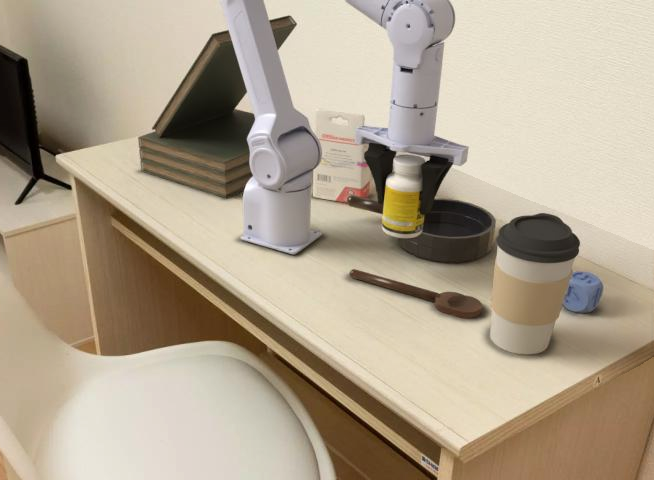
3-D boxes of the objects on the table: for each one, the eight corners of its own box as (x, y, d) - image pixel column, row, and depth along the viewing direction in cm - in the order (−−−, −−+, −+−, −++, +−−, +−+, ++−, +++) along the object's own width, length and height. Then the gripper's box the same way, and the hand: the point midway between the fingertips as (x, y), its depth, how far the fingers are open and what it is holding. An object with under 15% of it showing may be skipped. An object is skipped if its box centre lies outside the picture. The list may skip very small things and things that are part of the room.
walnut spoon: (342, 282, 106) (342, 274, 106) (357, 269, 110) (357, 262, 109) (473, 321, 99) (475, 313, 98) (486, 306, 102) (487, 298, 101)
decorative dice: (585, 316, 100) (592, 289, 98) (556, 305, 102) (562, 278, 100) (599, 305, 103) (606, 278, 101) (571, 294, 105) (577, 267, 103)
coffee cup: (543, 368, 90) (569, 249, 82) (469, 344, 94) (487, 228, 86) (567, 333, 97) (593, 219, 89) (496, 312, 101) (515, 201, 93)
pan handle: (344, 206, 123) (345, 196, 122) (349, 203, 124) (350, 192, 123) (399, 220, 119) (400, 209, 118) (404, 216, 120) (405, 205, 119)
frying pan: (378, 248, 115) (380, 223, 113) (418, 215, 126) (420, 191, 124) (471, 273, 110) (475, 247, 107) (504, 236, 120) (509, 211, 118)
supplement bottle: (420, 241, 102) (428, 168, 97) (379, 237, 103) (384, 164, 98) (424, 224, 107) (432, 154, 101) (384, 220, 108) (389, 150, 102)
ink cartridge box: (370, 195, 132) (376, 107, 124) (360, 206, 128) (366, 115, 120) (322, 187, 135) (325, 100, 127) (311, 197, 131) (313, 108, 123)
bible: (226, 138, 155) (222, 1, 142) (308, 160, 146) (311, 16, 132) (140, 171, 139) (126, 20, 126) (225, 198, 130) (220, 39, 116)
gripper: (345, 99, 96) (340, 204, 103) (458, 120, 90) (444, 230, 97) (371, 86, 101) (365, 187, 108) (480, 105, 95) (465, 211, 102)
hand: (404, 206), depth 103 cm, fingers closed on supplement bottle, 5 cm apart
